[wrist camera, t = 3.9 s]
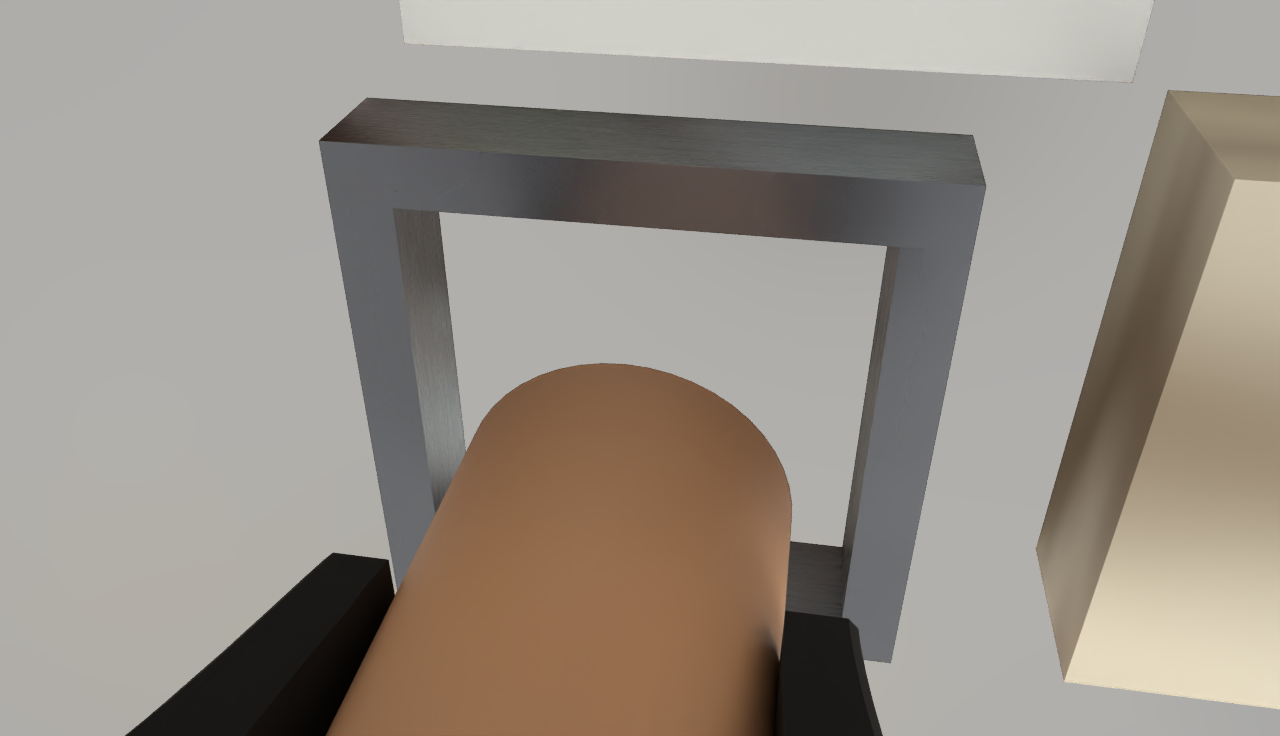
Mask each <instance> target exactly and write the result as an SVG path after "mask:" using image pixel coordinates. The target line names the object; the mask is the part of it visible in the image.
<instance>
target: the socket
mask: <svg viewBox="0 0 1280 736" xmlns="http://www.w3.org/2000/svg"><path fill="white" fill-rule="evenodd" d="M319 144H320V150H321V156H322V162H323V168H324V173H325V179H326V185H327V191H328V196H329V202H330V208H331V213H332V219H333V224H334V231H335V236H336V242H337V248H338V254H339V259H340V265H341V271H342V276H343V282H344V288H345V294H346V299H347V305H348V310H349V317H350V322H351V328H352V334H353V339H354V345H355V351H356V357H357V362H358V368H359V373H360V380H361V385H362V391H363V396H364V402H365V408H366V414H367V419H368V425H369V431H370V436H371V442H372V448H373V454H374V460H375V465H376V471H377V476H378V483H379V488H380V494H381V500H382V505H383V511H384V517H385V523H386V528H387V534H388V540H389V546H390V551H391V556H392V563H393V568H394V574H395V579H396V586H397V591H398V589H399V587H400V585H401V583H402V581H403V579H404V577H405V575H406V573H407V571H408V569H409V567H410V565H411V562H412V560H413V558H414V556H415V554H416V552H417V550H418V548H419V546H420V544H421V542H422V540H423V538H424V536H425V534H426V532H427V530H428V528H429V526H430V524H431V522H432V520H433V518H434V516H435V514H436V512H437V510H438V508H439V506H440V504H441V502H442V500H443V498H444V496H445V494H446V492H447V490H448V488H449V486H450V484H451V482H452V480H453V478H454V476H455V474H456V472H457V470H458V468H459V466H460V464H461V462H462V460H463V458H464V456H465V454H466V449H465V440H464V431H463V423H462V414H461V405H460V396H459V387H458V378H457V369H456V361H455V352H454V344H453V334H452V325H451V316H450V307H449V298H448V289H447V281H446V272H445V264H444V254H443V245H442V236H441V227H440V219H439V212H449V213H463V214H477V215H489V216H503V217H515V218H529V219H541V220H555V221H567V222H581V223H594V224H607V225H608V224H609V225H620V226H633V227H646V228H659V229H673V230H686V231H699V232H713V233H725V234H738V235H751V236H764V237H777V238H792V239H803V240H818V241H830V242H843V243H856V244H869V245H883V246H887V252H886V258H885V265H884V272H883V279H882V286H881V292H880V299H879V306H878V312H877V319H876V326H875V333H874V339H873V346H872V352H871V360H870V366H869V372H868V379H867V386H866V393H865V399H864V406H863V413H862V419H861V426H860V433H859V440H858V446H857V453H856V460H855V467H854V473H853V480H852V487H851V493H850V500H849V507H848V513H847V520H846V527H845V534H844V540H843V547H835V546H827V545H818V544H809V543H800V542H792V541H790V548H789V561H788V575H787V588H786V602H785V611H793V612H801V613H809V614H817V615H824V616H832V617H840V618H848V619H850V620H851V622H852V623H853V624H854V625H855V626H856V627H857V628H858V629H859V636H860V644H861V650H862V655H863V660H869V661H877V662H885V663H891V660H892V655H893V649H894V645H895V639H896V634H897V630H898V625H899V620H900V615H901V610H902V604H903V600H904V594H905V590H906V584H907V580H908V574H909V570H910V565H911V560H912V554H913V549H914V545H915V540H916V535H917V530H918V524H919V519H920V515H921V509H922V505H923V500H924V495H925V490H926V485H927V479H928V475H929V470H930V465H931V460H932V455H933V450H934V445H935V440H936V435H937V430H938V425H939V419H940V415H941V410H942V405H943V399H944V395H945V390H946V384H947V380H948V375H949V369H950V365H951V360H952V355H953V350H954V345H955V340H956V335H957V330H958V325H959V319H960V314H961V310H962V305H963V300H964V295H965V290H966V285H967V280H968V275H969V270H970V265H971V260H972V255H973V249H974V245H975V240H976V235H977V230H978V225H979V220H980V214H981V210H982V205H983V200H984V195H985V190H986V184H985V179H984V176H983V172H982V169H981V165H980V161H979V157H978V153H977V150H976V145H975V141H974V138H973V135H962V134H946V133H930V132H929V133H928V132H912V131H898V130H880V129H865V128H849V127H847V128H846V127H831V126H816V125H799V124H784V123H768V122H752V121H735V120H719V119H703V118H687V117H671V116H670V117H669V116H653V115H638V114H622V113H621V114H620V113H606V112H590V111H573V110H557V109H541V108H525V107H509V106H493V105H492V106H491V105H476V104H460V103H443V102H428V101H411V100H396V99H379V98H366V99H365V100H364V101H363V102H362V103H360V104H359V105H358V107H356V108H355V109H354V110H353V111H352V112H350V113H349V114H348V115H347V116H346V117H345V118H344V119H343V120H342V121H340V122H339V123H338V124H337V125H336V126H335V127H334V128H332V129H331V130H330V131H329V132H328V133H327V134H326V135H325V136H324V137H323V138H321V139H320V140H319ZM784 618H785V615H784Z"/></svg>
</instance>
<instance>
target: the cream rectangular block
mask: <svg viewBox="0 0 1280 736" xmlns="http://www.w3.org/2000/svg"><path fill="white" fill-rule="evenodd" d="M1036 551H1037V556H1038V560H1039V565H1040V570H1041V575H1042V579H1043V584H1044V589H1045V594H1046V598H1047V603H1048V608H1049V613H1050V617H1051V622H1052V627H1053V631H1054V637H1055V641H1056V646H1057V651H1058V655H1059V660H1060V665H1061V669H1062V674H1063V679H1064V682H1071V683H1079V684H1087V685H1095V686H1102V687H1110V688H1118V689H1126V690H1134V691H1141V692H1149V693H1157V694H1165V695H1173V696H1181V697H1188V698H1197V699H1204V700H1212V701H1220V702H1228V703H1236V704H1244V705H1251V706H1259V707H1267V708H1275V709H1280V96H1263V95H1244V94H1227V93H1209V92H1190V91H1171V90H1168V92H1167V95H1166V99H1165V102H1164V106H1163V110H1162V113H1161V116H1160V120H1159V123H1158V127H1157V130H1156V134H1155V138H1154V141H1153V144H1152V148H1151V151H1150V155H1149V158H1148V161H1147V165H1146V168H1145V172H1144V175H1143V179H1142V182H1141V186H1140V190H1139V193H1138V196H1137V200H1136V203H1135V207H1134V210H1133V214H1132V217H1131V221H1130V224H1129V228H1128V231H1127V234H1126V238H1125V241H1124V245H1123V248H1122V252H1121V255H1120V259H1119V262H1118V266H1117V270H1116V273H1115V276H1114V280H1113V283H1112V287H1111V290H1110V294H1109V297H1108V301H1107V304H1106V308H1105V311H1104V315H1103V318H1102V321H1101V325H1100V329H1099V332H1098V335H1097V339H1096V342H1095V346H1094V349H1093V353H1092V356H1091V360H1090V363H1089V367H1088V370H1087V374H1086V377H1085V381H1084V384H1083V388H1082V391H1081V394H1080V398H1079V402H1078V405H1077V408H1076V412H1075V416H1074V419H1073V422H1072V426H1071V429H1070V433H1069V436H1068V440H1067V443H1066V447H1065V450H1064V453H1063V457H1062V460H1061V464H1060V468H1059V471H1058V475H1057V478H1056V481H1055V485H1054V489H1053V492H1052V495H1051V499H1050V502H1049V506H1048V509H1047V513H1046V516H1045V519H1044V523H1043V527H1042V530H1041V534H1040V537H1039V540H1038V544H1037V547H1036Z"/></svg>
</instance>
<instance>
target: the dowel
mask: <svg viewBox="0 0 1280 736" xmlns="http://www.w3.org/2000/svg"><path fill="white" fill-rule="evenodd" d="M791 519H792V501H791V495H790V488H789V484H788V481H787V478H786V474H785V471H784V468H783V466H782V464H781V462H780V461H779V458H778V457H777V455H776V452H775V451H774V449H773V448H772V447H771V445H770V444H769V442H768V441H767V439H766V438H765V436H764V435H763V434H762V433H761V432H760V431H759V430H758V429H757V428H756V426H755V425H754V424H753V423H752V422H751V421H750V420H749V419H748V418H747V417H746V416H745V415H743V414H742V413H741V412H740V411H739V410H738V409H736V408H735V407H734V406H733V405H731V404H730V403H728V402H727V401H725V400H724V399H722V398H721V397H719V396H718V395H716V394H715V393H713V392H711V391H709V390H707V389H705V388H704V387H702V386H699V385H698V384H696V383H694V382H691V381H689V380H686V379H684V378H681V377H678V376H675V375H673V374H670V373H666V372H662V371H659V370H655V369H651V368H647V367H640V366H634V365H627V364H607V363H600V364H587V365H578V366H572V367H567V368H562V369H558V370H554V371H551V372H549V373H546V374H542V375H539V376H537V377H535V378H533V379H531V380H529V381H527V382H525V383H523V384H521V385H520V386H518V387H517V388H515V389H514V390H512V391H511V392H509V393H508V394H506V395H505V396H504V397H503V398H502V399H501V400H500V401H499V402H498V403H496V404H495V405H494V406H493V407H492V409H491V410H490V411H489V412H488V414H487V415H486V416H485V418H484V419H483V420H482V422H481V424H480V426H479V428H478V430H477V432H476V434H475V435H474V437H473V439H472V441H471V443H470V446H469V448H468V450H467V452H466V454H465V456H464V458H463V460H462V462H461V464H460V466H459V468H458V470H457V472H456V474H455V476H454V478H453V480H452V482H451V484H450V486H449V488H448V490H447V492H446V494H445V496H444V498H443V500H442V502H441V504H440V506H439V508H438V510H437V512H436V514H435V516H434V518H433V520H432V522H431V524H430V526H429V528H428V530H427V532H426V534H425V536H424V538H423V540H422V542H421V544H420V546H419V548H418V550H417V552H416V554H415V556H414V558H413V560H412V562H411V565H410V567H409V569H408V571H407V573H406V575H405V577H404V579H403V581H402V583H401V585H400V587H399V589H398V591H397V593H396V595H395V597H394V599H393V601H392V603H391V605H390V607H389V609H388V611H387V613H386V615H385V617H384V619H383V621H382V623H381V625H380V627H379V629H378V631H377V633H376V635H375V637H374V639H373V641H372V643H371V645H370V647H369V649H368V651H367V653H366V655H365V657H364V659H363V661H362V663H361V665H360V667H359V669H358V671H357V673H356V675H355V678H354V680H353V682H352V684H351V686H350V688H349V690H348V692H347V694H346V696H345V698H344V700H343V702H342V704H341V706H340V708H339V710H338V712H337V714H336V716H335V718H334V720H333V722H332V724H331V726H330V728H329V730H328V732H327V734H326V736H774V726H775V714H776V701H777V688H778V675H779V662H780V653H781V644H782V635H783V626H784V615H785V602H786V588H787V575H788V561H789V548H790V534H791V521H792V520H791Z"/></svg>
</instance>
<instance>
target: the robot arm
mask: <svg viewBox="0 0 1280 736" xmlns="http://www.w3.org/2000/svg"><path fill="white" fill-rule="evenodd" d="M394 597H395V594H394V588H393V583H392V577H391V571H390V566H389V560H386V559H378V558H371V557H362V556H355V555H347V554H339V553H332V554H331V555H329V556H328V557H327V558H326V559H324V560H323V561H322V562H321V563H320V564H319V565H318V566H317V567H315V568H314V569H313V570H312V571H311V572H310V573H309V574H308V575H307V576H305V577H304V578H303V579H302V580H301V581H300V582H299V583H298V584H297V585H296V586H294V587H293V588H292V589H291V590H290V591H289V592H288V593H287V594H286V595H285V596H284V597H282V598H281V599H280V600H279V601H278V602H277V603H276V604H275V605H274V606H273V607H272V608H271V609H270V610H268V611H267V612H266V613H265V614H264V615H263V616H262V617H261V618H260V619H259V620H257V621H256V622H255V623H254V624H253V625H252V626H251V627H250V628H249V629H248V630H246V631H245V632H244V633H243V634H242V635H241V636H240V637H239V638H238V639H236V641H234V642H233V643H232V644H231V645H230V646H229V647H228V648H227V649H226V650H225V651H223V652H222V653H221V654H220V655H219V656H218V657H216V658H215V659H214V660H213V661H212V662H211V663H210V664H208V665H207V666H206V667H205V668H204V669H203V670H202V671H200V672H199V673H198V674H197V675H196V676H195V677H194V678H192V679H191V680H190V681H189V682H188V683H187V684H186V685H184V686H183V687H182V688H181V689H180V690H179V691H178V692H177V693H175V694H174V695H173V696H172V697H171V698H170V699H168V700H167V701H166V702H165V703H164V704H163V705H161V706H160V707H159V708H158V709H157V710H156V711H154V712H153V713H152V714H151V715H150V716H149V717H147V718H146V719H145V720H144V721H143V722H141V723H140V724H139V725H138V726H136V727H135V728H134V729H133V730H132V731H131V732H129V733H128V734H126V735H125V736H326V734H327V732H328V730H329V728H330V726H331V724H332V722H333V720H334V718H335V716H336V714H337V712H338V710H339V708H340V706H341V704H342V702H343V700H344V698H345V696H346V694H347V692H348V690H349V688H350V686H351V684H352V682H353V680H354V678H355V675H356V673H357V671H358V669H359V667H360V665H361V663H362V661H363V659H364V657H365V655H366V653H367V651H368V649H369V647H370V645H371V643H372V641H373V639H374V637H375V635H376V633H377V631H378V629H379V627H380V625H381V623H382V621H383V619H384V617H385V615H386V613H387V611H388V609H389V607H390V605H391V603H392V601H393V599H394ZM774 736H883V735H882V732H881V728H880V724H879V721H878V718H877V715H876V711H875V707H874V703H873V700H872V696H871V692H870V688H869V683H868V679H867V675H866V671H865V665H864V660H863V655H862V650H861V644H860V636H859V629H858V628H857V627H856V626H855V625H854V624H853V623H852V622H851V620H850V619H848V618H840V617H832V616H824V615H817V614H809V613H801V612H793V611H785V618H784V626H783V635H782V644H781V653H780V662H779V675H778V688H777V701H776V714H775V726H774Z"/></svg>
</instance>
